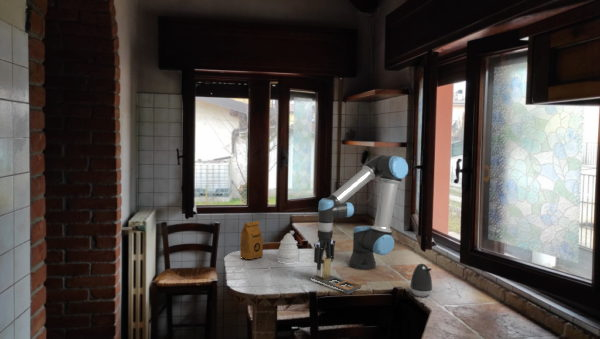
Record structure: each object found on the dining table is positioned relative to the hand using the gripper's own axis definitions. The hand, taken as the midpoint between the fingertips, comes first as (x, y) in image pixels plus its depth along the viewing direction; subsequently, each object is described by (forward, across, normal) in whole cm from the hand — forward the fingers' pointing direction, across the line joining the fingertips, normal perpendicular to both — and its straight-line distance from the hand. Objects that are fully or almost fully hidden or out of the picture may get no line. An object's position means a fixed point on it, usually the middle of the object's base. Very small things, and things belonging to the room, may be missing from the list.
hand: (323, 274), depth 238 cm
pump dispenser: (+3, -22, +44) cm, 49 cm away
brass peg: (+3, 0, 0) cm, 3 cm away
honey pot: (+4, -9, -38) cm, 39 cm away
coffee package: (+4, +4, -56) cm, 56 cm away
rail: (+3, 0, +8) cm, 9 cm away
